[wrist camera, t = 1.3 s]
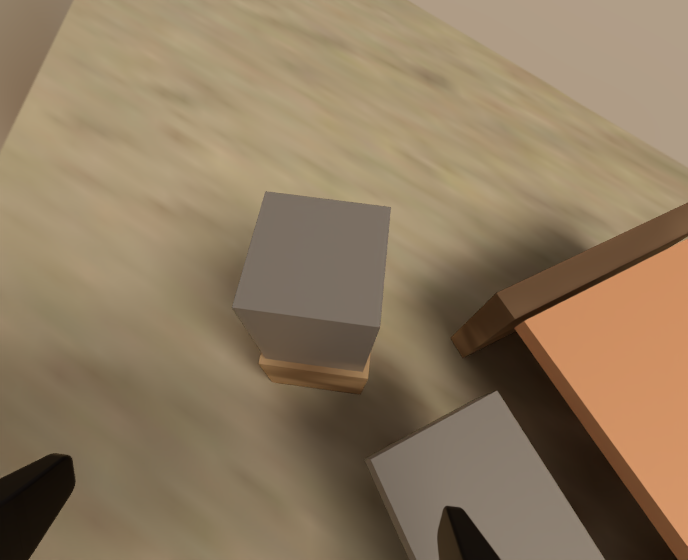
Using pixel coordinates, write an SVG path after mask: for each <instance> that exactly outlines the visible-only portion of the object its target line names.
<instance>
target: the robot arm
mask: <svg viewBox="0 0 688 560" xmlns="http://www.w3.org/2000/svg"><path fill="white" fill-rule="evenodd" d="M74 486H75V474H74V467H73V460H72V458H71V456H69V455H65V454H57V453H53V454H49V455H47V456H45V457H43V458H41V459H39V460H37V461H35V462H33V463H31V464H29V465H27V466H25V467H23V468H21V469H19V470H17V471H15V472H13V473H11V474H9V475H7V476H5V477H3V478H1V479H0V560H29V558H30V557H31V555H32V554H33V552H34V551H35V549H36V548H37V546H38V544H39V543H40V541H41V540H42V538H43V537H44V535H45V534H46V532H47V531H48V529H49V527H50V526H51V524H52V523H53V521H54V520H55V518H56V517H57V515H58V513H59V512H60V510H61V509H62V507H63V506H64V504H65V503H66V501H67V499H68V498H69V496H70V495H71V493H72V491H73V489H74ZM437 544H438V554H439V560H501V559H500V557H499V556H498V555H497V553H496V552H495V551H494V549H493V548H492V547H491V545H490V544H489V543H488V541H487V540H486V539H485V537H484V536H483V535H482V533H481V532H480V531H479V529H478V528H477V527H476V525H475V524H474V523H473V521H472V520H471V519H470V517H469V516H468V514H467V513H466V512H465V511H464V510H463V509H462V508H461V507H455V506H445V507H444V508H443V511H442V515H441V519H440V523H439V527H438V532H437Z"/></svg>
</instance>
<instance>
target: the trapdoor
mask: <svg viewBox="0 0 688 560" xmlns="http://www.w3.org/2000/svg"><path fill="white" fill-rule="evenodd" d="M514 329H515V330H516V331H517V333H518V334H519V336H520V337H521V338H522V340H523V341H524V343H525V344H526V346H527V347H528V348H529V350H530V351H531V353H532V354H533V355H534V357H535V358H536V360H537V361H538V362H539V364H540V365H541V367H542V368H543V370H544V371H545V372H546V374H547V375H548V377H549V378H550V379H551V381H552V382H553V384H554V385H555V387H556V388H557V389H558V391H559V392H560V394H561V395H562V396H563V398H564V399H565V401H566V402H567V404H568V405H569V406H570V408H571V409H572V411H573V412H574V413H575V415H576V416H577V418H578V419H579V420H580V422H581V423H582V425H583V426H584V428H585V429H586V430H587V432H588V433H589V435H590V436H591V437H592V439H593V440H594V442H595V443H596V445H597V446H598V447H599V449H600V450H601V452H602V453H603V454H604V456H605V457H606V459H607V460H608V462H609V463H610V464H611V466H612V467H613V469H614V470H615V471H616V473H617V474H618V476H619V477H620V478H621V480H622V481H623V483H624V484H625V486H626V487H627V488H628V490H629V491H630V493H631V494H632V495H633V497H634V498H635V500H636V501H637V503H638V504H639V505H640V507H641V508H642V510H643V511H644V512H645V514H646V515H647V517H648V518H649V520H650V521H651V522H652V524H653V525H654V527H655V528H656V529H657V531H658V532H659V534H660V535H661V536H662V538H663V539H664V541H665V542H666V544H667V545H668V546H669V548H670V549H671V551H672V552H673V553H674V555H675V556H676V558H677V559H678V560H688V239H686V240H684V241H682V242H680V243H678V244H676V245H674V246H672V247H670V248H668V249H666V250H664V251H662V252H660V253H658V254H656V255H654V256H652V257H650V258H648V259H646V260H644V261H642V262H640V263H638V264H636V265H634V266H632V267H630V268H628V269H626V270H625V271H623V272H621V273H619V274H617V275H615V276H613V277H611V278H609V279H607V280H605V281H603V282H601V283H599V284H597V285H595V286H593V287H591V288H589V289H587V290H585V291H583V292H581V293H579V294H577V295H575V296H573V297H571V298H569V299H567V300H565V301H563V302H561V303H559V304H557V305H555V306H553V307H551V308H549V309H547V310H545V311H543V312H541V313H539V314H537V315H535V316H533V317H531V318H529V319H527V320H525V321H523V322H522V323H521V324H519V325H518V326H516V327H515V328H514ZM364 460H365V463H366V465H367V467H368V469H369V471H370V474H371V476H372V478H373V480H374V483H375V485H376V487H377V489H378V491H379V494H380V496H381V498H382V500H383V503H384V505H385V507H386V509H387V511H388V514H389V516H390V518H391V520H392V523H393V525H394V527H395V529H396V531H397V534H398V536H399V538H400V540H401V543H402V545H403V547H404V549H405V551H406V554H407V556H408V558H409V560H439V554H438V544H437V532H438V527H439V523H440V519H441V515H442V511H443V508H444V507H445V506H455V507H461V508H462V509H463V510H464V511H465V512H466V513H467V514H468V516H469V517H470V519H471V520H472V521H473V523H474V524H475V525H476V527H477V528H478V529H479V531H480V532H481V533H482V535H483V536H484V537H485V539H486V540H487V541H488V543H489V544H490V545H491V547H492V548H493V549H494V551H495V552H496V553H497V555H498V556H499V557H500V559H501V560H605V559H604V557H603V556H602V554H601V553H600V551H599V549H598V548H597V546H596V545H595V543H594V542H593V540H592V538H591V537H590V535H589V534H588V532H587V531H586V529H585V528H584V526H583V524H582V523H581V521H580V520H579V518H578V517H577V515H576V513H575V512H574V510H573V509H572V507H571V506H570V504H569V502H568V501H567V499H566V498H565V496H564V495H563V493H562V491H561V490H560V488H559V487H558V485H557V484H556V482H555V480H554V479H553V477H552V476H551V474H550V473H549V471H548V469H547V468H546V466H545V465H544V463H543V462H542V460H541V458H540V457H539V455H538V454H537V452H536V451H535V449H534V447H533V446H532V444H531V443H530V441H529V440H528V438H527V436H526V435H525V433H524V432H523V430H522V429H521V427H520V425H519V424H518V422H517V421H516V419H515V418H514V416H513V414H512V413H511V411H510V410H509V408H508V407H507V405H506V404H505V402H504V400H503V399H502V397H501V396H500V394H499V393H498V391H495V392H492V393H490V394H487V395H485V396H482V397H480V398H477V399H475V400H472V401H470V402H468V403H467V404H465V405H463V406H461V407H459V408H457V409H456V410H454V411H452V412H450V413H448V414H446V415H444V416H443V417H441V418H439V419H437V420H435V421H433V422H432V423H430V424H428V425H426V426H424V427H422V428H420V429H419V430H417V431H415V432H413V433H411V434H409V435H408V436H406V437H404V438H402V439H400V440H398V441H397V442H395V443H393V444H391V445H389V446H387V447H385V448H384V449H382V450H380V451H378V452H376V453H374V454H373V455H371V456H369V457H367V458H365V459H364Z"/></svg>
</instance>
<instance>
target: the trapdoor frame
mask: <svg viewBox="0 0 688 560" xmlns="http://www.w3.org/2000/svg"><path fill="white" fill-rule="evenodd" d="M687 236H688V203H686V204H684V205H682V206H680V207H677V208H675V209H673V210H671V211H669V212H667V213H665V214H663V215H661V216H658V217H656V218H654V219H652V220H650V221H648V222H646V223H644V224H641V225H639V226H637V227H635V228H633V229H631V230H629V231H627V232H624V233H622V234H620V235H618V236H616V237H614V238H612V239H610V240H607V241H605V242H603V243H601V244H599V245H597V246H595V247H593V248H591V249H588V250H586V251H584V252H582V253H580V254H578V255H576V256H574V257H571V258H569V259H567V260H565V261H563V262H561V263H559V264H557V265H554V266H552V267H550V268H548V269H546V270H544V271H542V272H540V273H538V274H535V275H533V276H531V277H529V278H527V279H525V280H523V281H521V282H518V283H516V284H514V285H512V286H510V287H508V288H506V289H504V290H501V291H499V292H497V293H496V294H495V295H494V296H493V297H492V298H491V299H490V300H489V301H488V302H487V303H486V304H485V305H484V306H483V307H482V308H481V309H480V310H479V311H478V312H477V313H475V314H474V315H473V316H472V317H471V318H470V319H469V320H468V321H467V322H466V323H465V324H464V325H463V326H462V327H461V328H460V329H459V330H458V331H457V332H456V333H455V334H454V335H453V336H452V337H451V340H452V341H453V343H454V345H455V346H456V348H457V349H458V351H459V353H460V354H461V356H462V358H464V357H466V356H468V355H470V354H472V353H474V352H476V351H478V350H480V349H482V348H484V347H486V346H488V345H490V344H492V343H494V342H496V341H498V340H500V339H501V338H503V337H505V336H507V335H509V334H511V333H513V332H515V331H516V330H515V329H514V328H515V327H516V326H518V325H519V324H521V323H522V322H523V321H525V320H527V319H529V318H531V317H533V316H535V315H537V314H539V313H541V312H543V311H545V310H547V309H549V308H551V307H553V306H555V305H557V304H559V303H561V302H563V301H565V300H567V299H569V298H571V297H573V296H575V295H577V294H579V293H581V292H583V291H585V290H587V289H589V288H591V287H593V286H595V285H597V284H599V283H601V282H603V281H605V280H607V279H609V278H611V277H613V276H615V275H617V274H619V273H621V272H623V271H625V270H626V269H628V268H630V267H632V266H634V265H636V264H638V263H640V262H642V261H644V260H646V259H648V258H650V257H652V256H654V255H656V254H658V253H660V252H662V251H664V250H666V249H668V248H670V247H671V246H673V245H674V244H676V243H678V242H679V241H681V240H683V239H684V238H686V237H687Z"/></svg>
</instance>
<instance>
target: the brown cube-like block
mask: <svg viewBox="0 0 688 560" xmlns="http://www.w3.org/2000/svg"><path fill="white" fill-rule="evenodd" d="M370 354H371V352H370ZM258 364H259V365H260V367H261V368H262V369H263V371H264V372H265V373H266V374H267V376H268V377H269V378H270V380H271V381H272V382H275V383H282V384H289V385H297V386H304V387H311V388H318V389H325V390H332V391H339V392H346V393H354V394H361V392H362V390H363V388H364V386H365V384H366V382H367V380H368V375H369V364H370V355H369V357H368V360H367V362H366V365H365V368H364V370H363V372H358V371H351V370H344V369H337V368H329V367H322V366H315V365H308V364H301V363H293V362H286V361H279V360H272V359H265V357H264V356H263V354H262V353H261V354H260V358H259V363H258Z"/></svg>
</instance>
